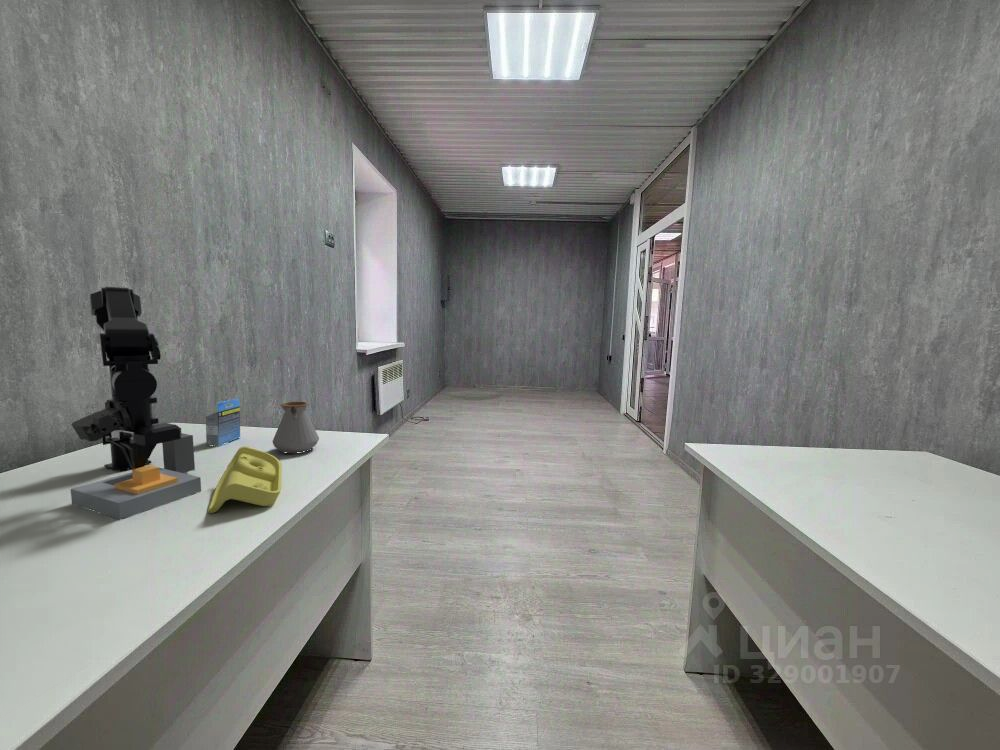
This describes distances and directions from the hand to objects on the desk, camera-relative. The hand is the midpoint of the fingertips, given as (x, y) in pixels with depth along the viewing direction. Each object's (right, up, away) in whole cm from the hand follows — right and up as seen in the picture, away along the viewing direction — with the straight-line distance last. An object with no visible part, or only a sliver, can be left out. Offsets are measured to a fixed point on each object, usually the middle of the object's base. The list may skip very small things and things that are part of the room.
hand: (137, 472), depth 84 cm
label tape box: (-8, 0, +39) cm, 40 cm away
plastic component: (+19, -6, +5) cm, 21 cm away
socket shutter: (+2, -2, -1) cm, 3 cm away
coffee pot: (+17, -2, +29) cm, 34 cm away
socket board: (0, -5, +1) cm, 5 cm away
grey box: (-1, -4, +13) cm, 14 cm away
